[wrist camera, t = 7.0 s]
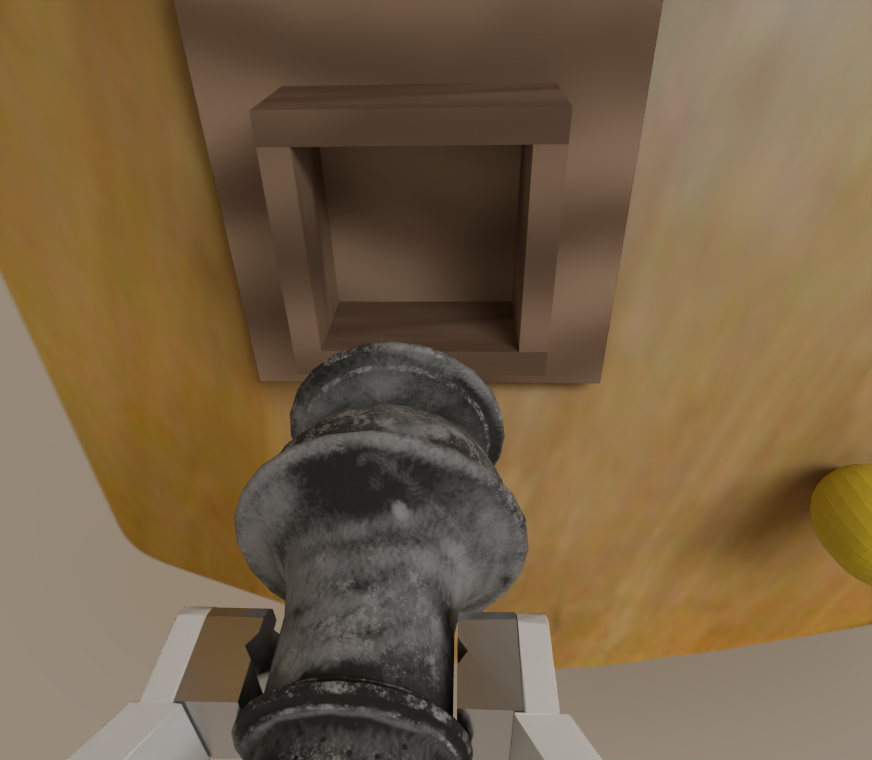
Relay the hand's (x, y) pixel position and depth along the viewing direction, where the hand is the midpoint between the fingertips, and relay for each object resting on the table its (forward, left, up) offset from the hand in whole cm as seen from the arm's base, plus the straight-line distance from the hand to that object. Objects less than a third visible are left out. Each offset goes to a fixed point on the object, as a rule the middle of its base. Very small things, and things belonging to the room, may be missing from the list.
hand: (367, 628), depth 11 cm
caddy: (0, 0, -21) cm, 21 cm away
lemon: (+16, +24, -21) cm, 36 cm away
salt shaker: (0, 0, -6) cm, 6 cm away
